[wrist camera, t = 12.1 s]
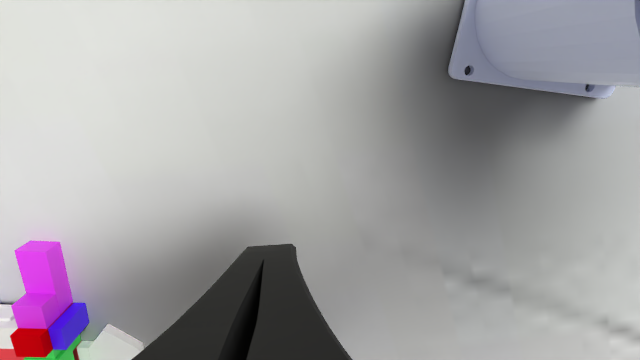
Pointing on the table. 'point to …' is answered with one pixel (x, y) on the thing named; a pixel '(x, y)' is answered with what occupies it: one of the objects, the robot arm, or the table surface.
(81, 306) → the building block set
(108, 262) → the table surface
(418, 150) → the table surface
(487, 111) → the table surface
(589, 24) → the robot arm
